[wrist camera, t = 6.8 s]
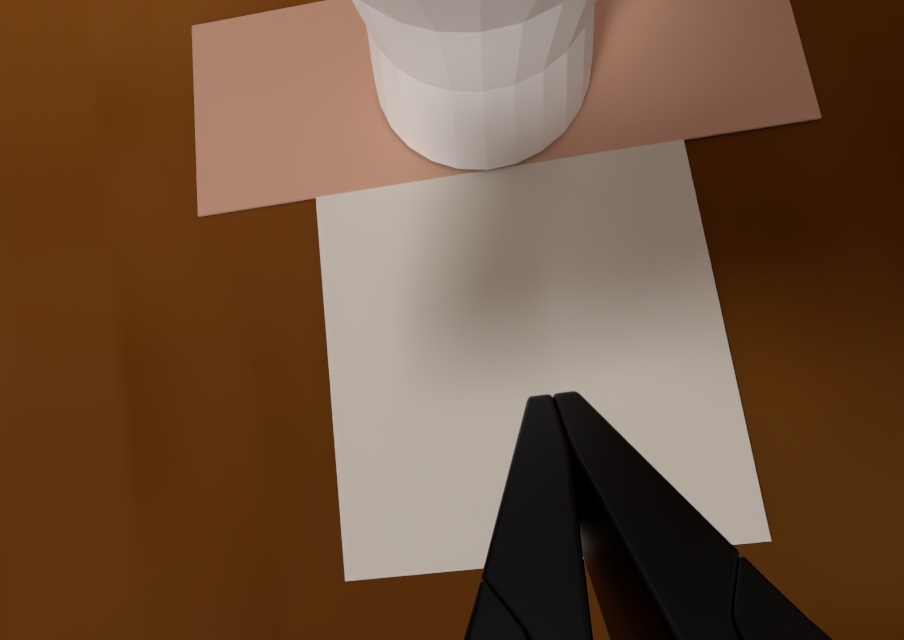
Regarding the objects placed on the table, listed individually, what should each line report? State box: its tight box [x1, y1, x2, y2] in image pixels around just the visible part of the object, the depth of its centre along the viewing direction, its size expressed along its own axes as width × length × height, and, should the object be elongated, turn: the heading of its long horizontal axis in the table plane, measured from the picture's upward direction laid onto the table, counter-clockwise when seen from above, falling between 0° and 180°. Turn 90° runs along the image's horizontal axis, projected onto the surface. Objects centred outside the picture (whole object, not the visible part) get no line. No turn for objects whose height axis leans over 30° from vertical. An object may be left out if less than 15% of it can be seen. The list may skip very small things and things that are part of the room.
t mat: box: [192, 0, 821, 581], centre depth 16 cm, size 21×22×1 cm
